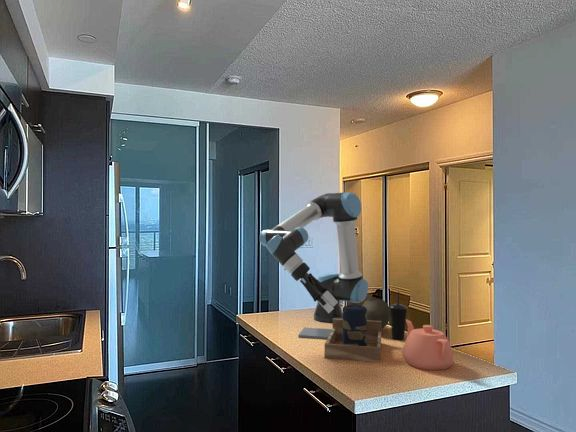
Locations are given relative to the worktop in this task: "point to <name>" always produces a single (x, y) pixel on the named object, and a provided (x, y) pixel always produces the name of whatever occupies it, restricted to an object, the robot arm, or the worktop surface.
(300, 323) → the worktop surface
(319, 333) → the slate tile
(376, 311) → the kiwi fruit
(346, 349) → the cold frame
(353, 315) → the canister
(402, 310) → the drinking cup
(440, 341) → the teapot
